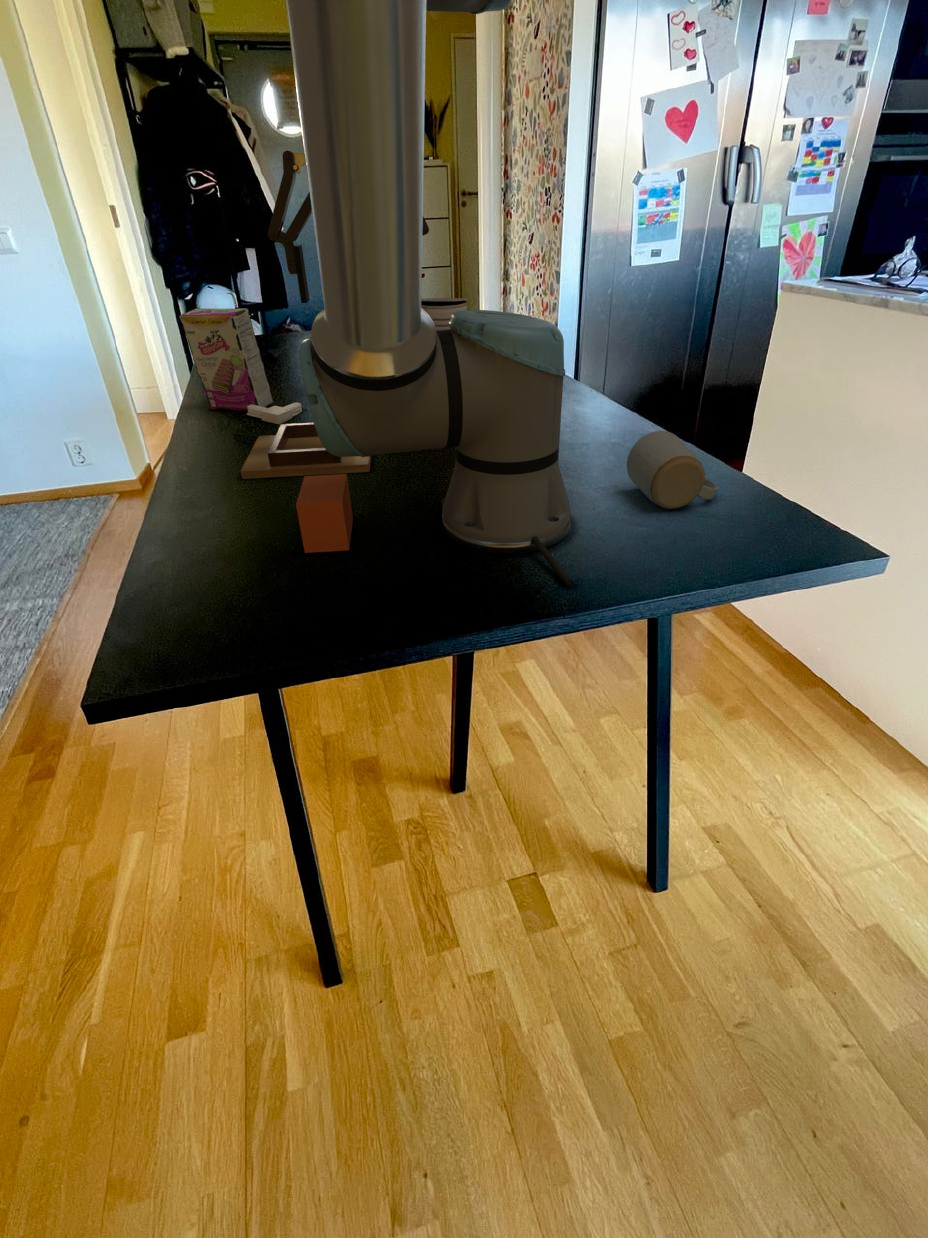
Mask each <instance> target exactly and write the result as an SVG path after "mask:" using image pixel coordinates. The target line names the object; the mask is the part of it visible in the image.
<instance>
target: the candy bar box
mask: <svg viewBox="0 0 928 1238" xmlns="http://www.w3.org/2000/svg"><path fill="white" fill-rule="evenodd" d="M178 317H179V320H180V323H181V326H182V329H183V332H184V335H185V337H186V340H187V344H188V347H189V350H190V352H191V356H192V358H193V361H194V365H195V367H196V370H197V374H198V376H199V379H200V381H201V385H202V388H203V391H204V394H205V398H206V400H207V404H208V407H209V409H210V410H223V411H243V412H248V408H247V406H249V405H257V406H261V407H265V408H268V407H269V406H270V405H271V404H273V403H274V399H273V396H272V392H271V388H270V384H269V380H268V378H267V373H266V370H265V367H264V362H263V359H262V356H261V355H262V354H261V351H260V348H259V344H258V341H257V337H256V334H255V330H254V326H253V322H252V318H251V315H250V312H249V309H248V308H194V309H191V310H188V311H186V312H185V313H181V314H180V315H179V316H178Z"/></svg>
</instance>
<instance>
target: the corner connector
mask: <svg viewBox="0 0 928 1238" xmlns="http://www.w3.org/2000/svg"><path fill="white" fill-rule="evenodd" d="M247 408H248V411H247V413H246V415H247V416H250V417H254V418H258V419H261V421H263V422H267V423H272V424H276V425H281V424H284V423H285V422H288V421H289V420H291V419H293V417H295V416H297V415H299V414H300V413H301V412H303V410H302V403H301V402H293V403H290V404H288V405H285V406H278V405H273V406H270V407H266V408H265V407H261V406H257V405H249V406H247Z"/></svg>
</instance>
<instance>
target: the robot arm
mask: <svg viewBox="0 0 928 1238" xmlns="http://www.w3.org/2000/svg"><path fill="white" fill-rule="evenodd" d="M284 1H285V9H286V17H287V25H288V33H289V40H290V49H291V57H292V65H293V72H294V73H293V74H294V80H295V87H296V97H297V102H298V109H299V110H298V111H299V119H300V127H301V134H302V135H301V136H302V142H303V143H302V144H303V150H304V153H300V152H293V151H291V150H284V151H283V153H282V171H283V173H282V177H281V180H280V183H279V188H278V191H277V195H276V200H275V202H274V207H273V211H272V214H271V218H270V222H269V225H268V230H267V238H268V240H270V241H273V242H276V243H279V244H281V246H283V249H284V253H285V259H286V266H287V271H288V273H289V275H296V276H297V278H296V279H297V283H298V291H299V297H300V304H308V303H309V302H310V292H309V287H308V286H309V285H308V280H307V279H308V278H307V272H306V266H305V258H304V257H305V256H304V251H303V245H302V244H296V242H297V240H298V237H299V236H300V234H301V232H302V231H303V229H304V227H305V225H306V224H307V223H308V220H309V219H310V218H311V215H312V221H313V228H314V236H315V245H316V253H317V260H318V266H319V268H318V269H319V274H320V275H319V276H320V284H321V292H322V299H323V300H322V301H323V306H324V307H323V308H322V309H321V310H320V311H319V312H318V313H317V314H316V316H315V318H314V320H313V323H312V325H311V330H310V336H309V337H308V338H305V339H303V340H302V341H300V343H299V345H298V360H299V367H300V374H301V378H302V383H303V389H304V391H305V394H306V398H307V401H308V407H309V411H310V415H311V419H312V423H314V425H315V428H316V431H317V433H318V436H319V439H320V441H321V443H322V445H323V446H324V448H325V449H326V450H327V451H328V452H329V453H330V454H332V455H334V456H338V457H350V456H360V457H363V458H364V457H368V456H371V457H372V456H380V455H381V456H382V455H389V454H390V455H391V454H399V453H409V452H417V451H419V452H420V451H428V450H436V449H437V450H439V449H447V448H454V452H455V453H454V454H455V455H454V456H455V457H454V458H455V460H454V461H455V464H454V468H453V472H452V475H451V479H450V482H449V485H448V487H447V488H448V489H447V492H446V495H445V496H444V497H443V498H442V499H441V509H442V513H441V522H442V530H443V532H444V534H445V535H446V537H447V538H448V539H450V540H451V541H452V542H454V543H456V544H457V545H459V546H461V547H464V548H466V549H469V550H473V551H477V552H481V553H488V554H496V555H497V554H499V555H512V554H515V555H516V554H525V553H531V552H536V551H539V552H540V554H541V555H542V556H543V558H544V559H545V561H546V562H547V563H548V564H549V566H550V568H551V569H552V570H553V571H554V572H555V574H556V575H557V576H558V578H559V579H560V580H561V581H562V582H563V583H564V584H565V585H566V586H570V585H572V584H573V579H572V578H571V577H570V576H569V575H568V574H567V573H566V572H565V571H564V570H563V569H562V567H561V566H560V565H559V563H558V562H557V560H556V559H555V558H554V557H553V555H552V554H551V552H550V551H549V550H548V549H547V548H549V547H551V546H553V545H555V544H557V543H559V542H560V541H562V540H563V539H564V538H565V537H566V536H567V535H568V534H569V532H570V529H571V520H572V514H571V505H570V501H569V497H568V493H567V490H566V486H565V483H564V480H563V475H562V473H561V469H560V468H561V467H560V464H559V457H560V456H559V455H560V440H561V439H560V438H561V422H562V420H561V419H562V407H563V406H562V405H563V404H562V403H563V391H564V377H565V376H566V369H565V341H564V336H563V334H562V331H561V329H559V327H557V326H556V324H553V323H552V322H550V321H547V320H545V319H542V318H540V317H539V318H538V317H536V316H535V317H534V316H530V315H526V314H522V313H521V314H520V313H515V312H508V311H499V310H489V309H467V311H457V312H455V313H453V314H452V316H451V319H450V321H449V327H450V329H448V330H436V327H435V325H434V322H433V320H432V319H431V317H430V316H429V315H428V314H427V312H426V311H425V310H424V309H422V308H421V299H422V277H423V275H422V273H423V272H422V270H423V268H422V267H423V236H427V235H428V234H429V232H430V226H429V225H428V223H427V221H426V219H425V216H424V215H423V213H424V210H423V209H424V207H423V206H424V165H425V164H424V162H425V161H424V158H425V154H424V153H425V106H426V105H425V103H426V102H425V99H426V47H427V46H426V42H427V41H426V40H427V39H426V37H427V12H443V13H444V12H447V13H470V14H471V15H480V14H484V13H487V12H489V13H490V12H500V11H503V10H505V9H506V8H508V6H509V5H510V3H511V1H512V0H284ZM304 166H306V173H307V182H308V189H309V192H308V193H307V195H306V197H305V199H304V200H303V202H302V204H301V206H300V207H299V209H298V211H297V213H296V215H295V217H294V218H293V219H292V222H291V223H290V225H289V227H288V228H287V230H286V231H285V232H284V231H283V227H284V223H285V220H286V216H287V213H288V209H289V205H290V202H291V199H292V195H293V191H294V187H295V185H296V179H297V175H298V174H301V173H302V171H303V167H304Z"/></svg>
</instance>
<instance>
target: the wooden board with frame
mask: <svg viewBox="0 0 928 1238" xmlns="http://www.w3.org/2000/svg"><path fill="white" fill-rule="evenodd" d="M371 460H372V456H368V457H364V458H363V457H360V456H350V457H338V456H334V455H332V454H330V453H329V452H328V451H327V450H326V449H325V448H324V446H323V445H322V443H321V441H320V439H319V436H318V433H317V431H316V428H315V425H314V422H298V423H281V424H279V427H278V429H277V432H276V434H273V435H272V434H271V435H270V434H269V435H259V436H258V437H257V439H256V441H255V442H254V444H253V446H252V448H251V450H250V452H249V454H248V456H247V458H246V459H245V461H244V464H243V465H242V467H241V469H240V471H239V473H240V475H241V479H242V480H249V479H251V480H252V479H267V478H285V477H287V478H288V477H302V476H303V477H305V476H319V475H337V474H355V473H357V474H358V473H369V472H370V470H371V463H372V462H371Z"/></svg>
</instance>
